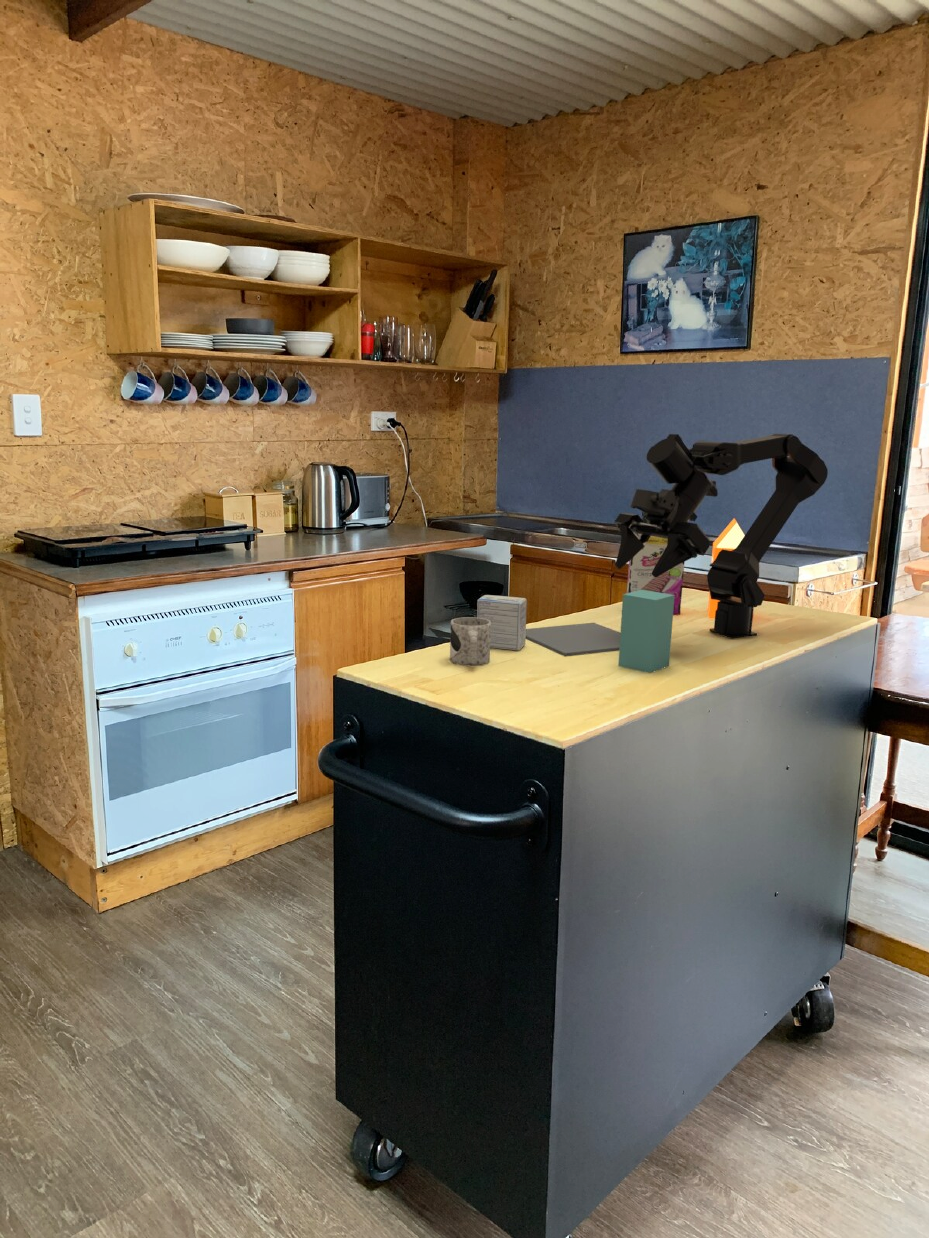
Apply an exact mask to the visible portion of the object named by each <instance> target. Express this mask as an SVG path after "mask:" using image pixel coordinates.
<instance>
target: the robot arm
mask: <svg viewBox="0 0 929 1238" xmlns="http://www.w3.org/2000/svg"><path fill="white" fill-rule="evenodd" d="M647 451H648V452H647V454H646V461H647V462H648V463H649V465H650V466H651V467H652V468H653V470H655V472H656V473H657V474H658V476H659V477H660V478H661V479H662V480H663V482H664V483H665V484H670V485H671V484H672V487H671V488H670V489H665V488H662V489H660V491H659V492H658V491H652V490H648V489H647V490H646V489H638V488H636V489H635V491H634V495H633V497H632V501H631V503H630V508H632V509H637V510H639V511H641V512H643V517H644V518H645V519H646V520H648V521H649V523H646V522H645V521H644V520H643V518H642V517H640V515H639V514H638V513H636V514H635V513H631V512H630V513H629V512H620V513H619V514H618V515H617V517H616V518H615V520H614V522H613V523H614V525H615V526H616V529H617V530H618V531H619V533H620V536H621V537H620V538H621V539H620V545H619V549H618V553H617V558H616V561H615V565H614V566H615V567H616V568H617V569H618V570H621V569H622V568H623V567H624V566H626V565H627V563H628V564H629V561H630V560H631V559H632V558H633V557H634V556H635V555H636V554H637V553H638V552H639V551H640V550H641V549H643V548H644V547H645V546H644V544H643V543H645V542H647V541H648V540H649V538H650V537H651V536H655V537H660V538H665V539H668V542H667V547H666V549H665V550H664V552H663V554H662V555H661V557H660V559H659V560H658V562H657V564H656V565H655V567H654V569H653V571H652V575H653V576H654V577H658V576H660V575H661V574H663V573H665V572H667V571H668V570H670V569H672V568H673V567H675V566H677V565H679V564H681V563H683V562H687V561H688V560H691V559H696V558H697V557H698V556H705V554H706V553H707V551H708V549H709V548H710V538H709V537H708V535H706V533H705V532H704V531H703V529H701V527H700V526H699V524H697V523H695V521H696V520H697V519H698V515H697V513H695V512H696V511H697V509H698V507H699V506H700V505H701V503H702V502H703V500H704V499H705V497H706V496H707V497H714V498H716V497H717V496H718V495H719V493H718V488H717V481H716V480H710V478H709V477H708V475H717V476H726V475H727V474H730V473H732V472H735V471H737V470H738V469H739V468H740V466H742V465H745V464H749V463H753V462H754V463H755V462H759V461H765V460H769V459H771V463H772V464H771V465H772V468H773V469H774V471H775V472H776V475H775V478H774V481H775V483H774V484H775V490H774V492H773V493H772V495H771V496H770V498H769V500H768V501H767V503H766V504H765V505H764V506H763V508H762V509H761V511H760V513H759V514H758V515H757V517H756V518H755V520H754V521H753V523H752V524H751V526H750V527H749V529H748V530H747V532H746V533H745V534H744V535H745V536H744V537H743V539H742V540H741V542H740V543H739V545H738V546H737V547H736V548H735V549H734V550H732V551H729V550H724V549H722V550H721V551H720V552H719V553H718V555H717V557H716V559H715V560H714V562H713V563H710V564H709V567H710V568H709V570H708V571H707V576H706V577H707V579H706V581H707V584H708V590H709V591H710V596H711V599H713V600H719V602H718V603H717V610H716V611H715V619H714V624H713V627H712V628H709V630H708V631H709V632H711V633H714V634H717V635H720V636H722V637H726V638H729V639H739V638H740V639H741V638H749V637H757V636H758V632H755V631H752V629H753V619H754V608H757V607H760V606H762V604H763V602H764V599H765V593H764V591H763V590H762V589H761V587H760V585H759V584H758V583H757V582H758V580H759V577H760V562H761V560H762V558H763V557H764V556H765V554H766V552H767V551H768V549H769V548H770V547H771V546H772V543H774V540H775V539H776V538H777V536H778V535H779V533H780V532H781V530H782V529H783V527H784V525H785V524H786V523H787V521H788V520H789V518H790V517H791V516H792V513H793V512H794V511H795V510H796V508H797V506H798V505H799V504H801V503H802V502H804V501H805V500H807V499H809V498H811V497H813V496H814V495H815V494H816V493H817V492H818V491H819V490H820V489H821V487H822V486H823V485H824V484H825V483H826V481H827V478H828V473H829V471H828V467H827V465H826V463H825V461H824V460H823V459H822V458H821V457H820V456H819V454H818V453H816V452H815V451H814V450H812V449H810V448H809V446H807V445H805V444H803V443H802V441H801V440H800V438H799V437H797V436H796V435H794V434H791V433H789V434H788V433H774V434H771V435H767V436H761V437H757V438H751V439H745V440H739V441H734V442H725V441H709V440H707V441H706V440H705V441H704V440H698V441H696V442H695V443H693V444H692V448H688V446H687V445H686V444H685V443H684V441H683V439H682V437H681V435H679V434H677V433H669V434H668V436H667V437H666V438H664V439H661V440H659V441H658V442H657V443H655V444H654V445H653V446H651V447H650V448H649V449H648V450H647ZM706 474H707V475H706ZM689 521H691V522H689ZM693 522H694V523H693ZM709 591H708V592H709Z"/></svg>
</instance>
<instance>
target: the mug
mask: <svg viewBox="0 0 929 1238" xmlns="http://www.w3.org/2000/svg"><path fill="white" fill-rule="evenodd" d="M449 636H450V638H449V640H450V643H449V661H450V663H452V664H455V665H458V666H466V667H479V666H484V665H488V664H490V662H491V648H490V638H491V621H489V620H487V619H483V618H477V617H473V616H471V617H470V616H468V617H467V616H466V617H465V616H463V617H456V618H453V619H451V620H450V635H449Z"/></svg>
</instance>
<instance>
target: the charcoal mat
mask: <svg viewBox="0 0 929 1238" xmlns="http://www.w3.org/2000/svg"><path fill="white" fill-rule="evenodd" d="M620 633H621V631H617V630H615V629H612V628H610V627H606V626H603V625H601V624H599V623H596V622H585V623H584V622H583V623H574V624H564V625H553V626H543V627H542V626H541V627H531V628H526V640H528V641H530V642H533V643H535V644H538V645H539V646H542V647H544V648H546V649H547V650H551V651H553V652H554V653H558V654H559V655H561V656H564V657H568V656H570V657H571V656H578V655H588V654H596V653H606V652H614V651H619V649H620Z"/></svg>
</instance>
